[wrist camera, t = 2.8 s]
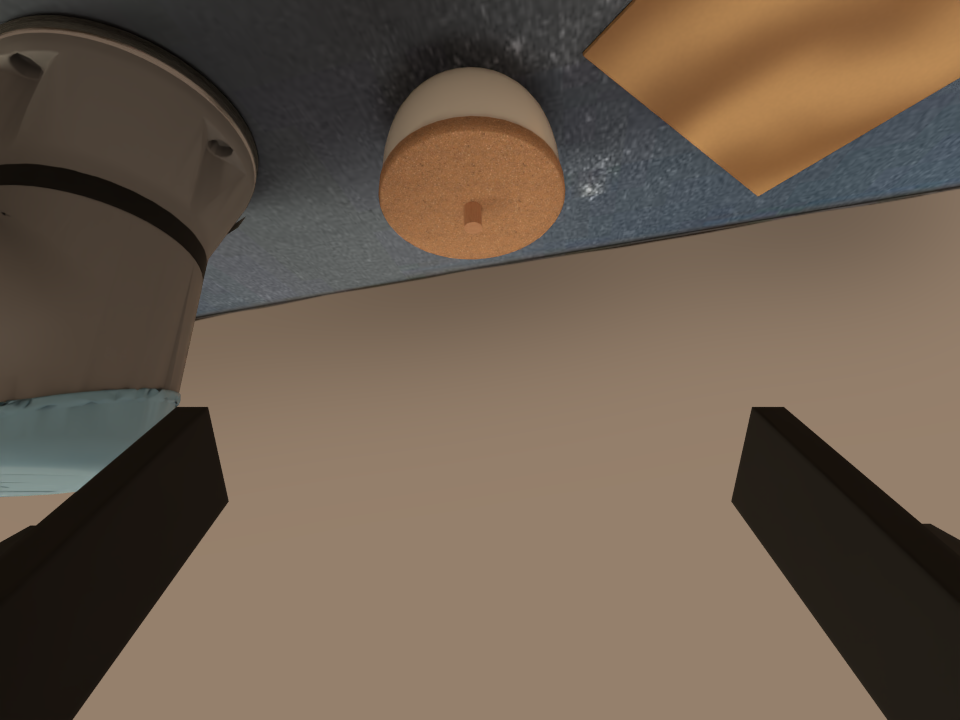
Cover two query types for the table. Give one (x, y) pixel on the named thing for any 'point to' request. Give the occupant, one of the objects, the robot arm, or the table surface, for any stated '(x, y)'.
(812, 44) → the cork mat
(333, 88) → the table surface
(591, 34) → the table surface
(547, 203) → the trinket box
